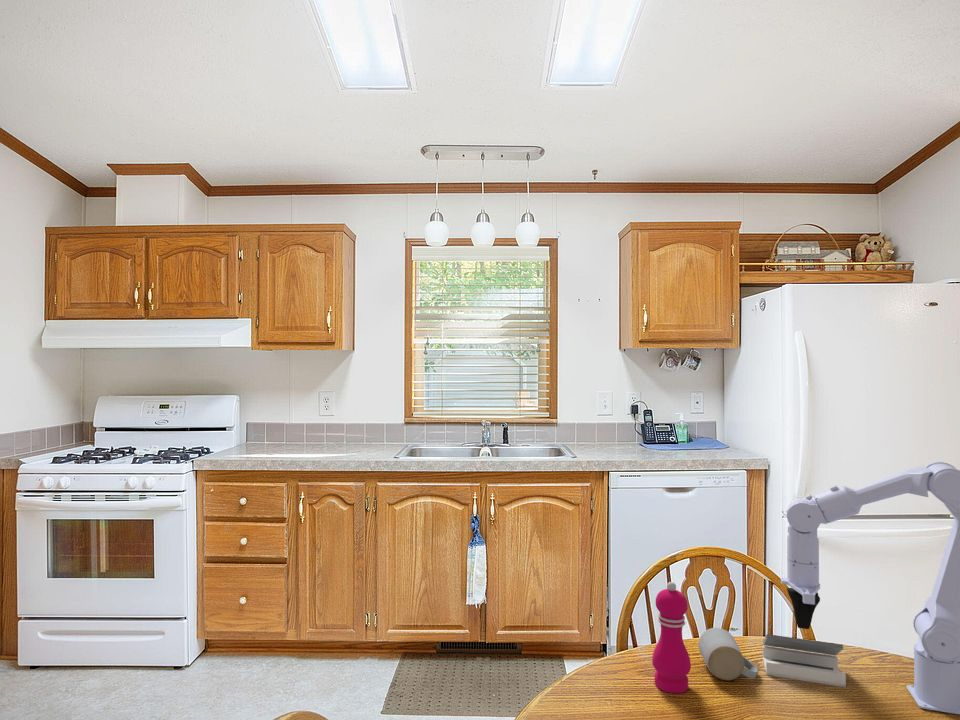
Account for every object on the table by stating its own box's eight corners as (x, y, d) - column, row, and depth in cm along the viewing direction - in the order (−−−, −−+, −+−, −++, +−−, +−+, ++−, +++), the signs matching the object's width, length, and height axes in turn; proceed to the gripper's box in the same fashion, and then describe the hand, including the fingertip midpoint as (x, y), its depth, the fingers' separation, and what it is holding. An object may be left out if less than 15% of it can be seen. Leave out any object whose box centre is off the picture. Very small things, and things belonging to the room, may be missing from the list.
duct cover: (835, 655, 126) (835, 651, 126) (843, 649, 119) (842, 644, 120) (763, 645, 130) (763, 641, 131) (767, 638, 124) (766, 634, 124)
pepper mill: (693, 697, 114) (693, 590, 115) (653, 692, 116) (653, 587, 116) (688, 678, 121) (688, 577, 122) (650, 674, 123) (651, 574, 123)
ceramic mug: (707, 682, 120) (708, 642, 120) (697, 662, 128) (698, 625, 128) (764, 686, 119) (764, 646, 119) (750, 666, 127) (750, 629, 127)
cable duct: (836, 668, 126) (836, 656, 126) (845, 687, 118) (845, 674, 118) (762, 657, 130) (762, 645, 130) (766, 674, 123) (766, 662, 123)
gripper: (776, 548, 132) (776, 611, 132) (786, 568, 118) (786, 639, 118) (813, 551, 129) (813, 615, 129) (827, 573, 116) (827, 644, 116)
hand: (802, 627), depth 123 cm, fingers closed
